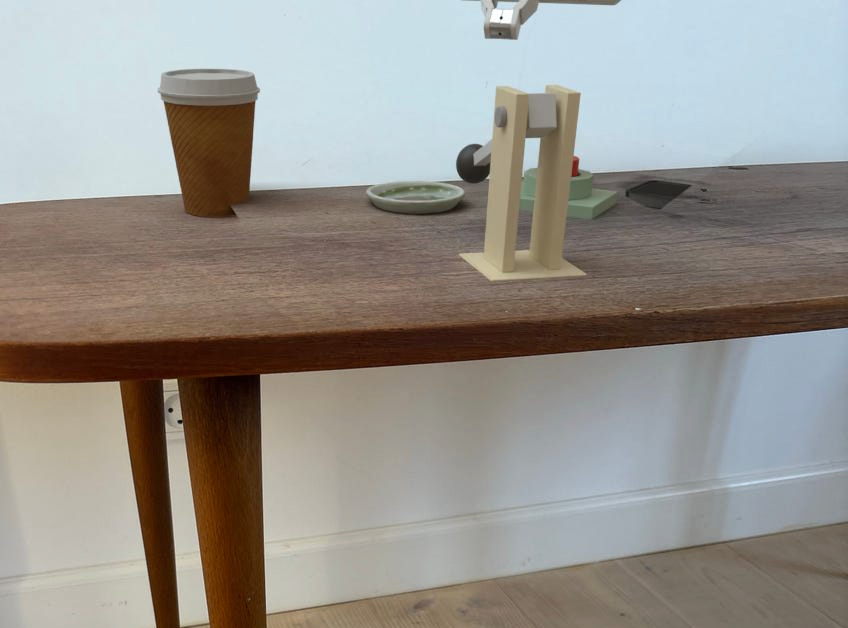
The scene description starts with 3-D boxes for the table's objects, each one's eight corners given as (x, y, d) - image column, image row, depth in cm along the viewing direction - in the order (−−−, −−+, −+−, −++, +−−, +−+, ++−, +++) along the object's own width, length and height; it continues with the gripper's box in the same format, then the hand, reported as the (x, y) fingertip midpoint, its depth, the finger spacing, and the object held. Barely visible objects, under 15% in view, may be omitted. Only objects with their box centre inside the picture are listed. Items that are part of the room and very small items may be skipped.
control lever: (452, 188, 94) (450, 149, 93) (486, 186, 95) (484, 148, 94) (523, 134, 78) (521, 87, 77) (563, 133, 78) (561, 86, 78)
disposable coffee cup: (282, 206, 106) (278, 72, 100) (229, 225, 99) (221, 82, 92) (204, 195, 110) (195, 65, 103) (148, 213, 103) (134, 75, 96)
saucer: (407, 200, 109) (408, 175, 108) (483, 215, 104) (485, 189, 103) (345, 216, 103) (345, 189, 102) (422, 232, 98) (423, 205, 97)
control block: (615, 214, 105) (621, 171, 103) (590, 231, 99) (596, 186, 97) (521, 203, 109) (525, 161, 107) (492, 218, 103) (495, 174, 101)
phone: (767, 211, 102) (622, 190, 109) (764, 224, 102) (620, 202, 109) (791, 197, 107) (651, 178, 114) (788, 209, 108) (650, 189, 115)
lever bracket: (458, 268, 88) (469, 83, 80) (547, 263, 90) (566, 81, 82) (490, 295, 82) (506, 97, 74) (585, 289, 83) (610, 95, 76)
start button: (582, 175, 103) (584, 156, 102) (570, 182, 100) (572, 162, 99) (547, 171, 104) (549, 152, 103) (534, 178, 102) (536, 158, 101)
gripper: (414, -131, 94) (380, 2, 92) (646, -131, 89) (616, 10, 87) (425, -71, 100) (393, 55, 98) (642, -68, 96) (614, 65, 93)
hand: (500, 34), depth 93 cm, fingers closed
